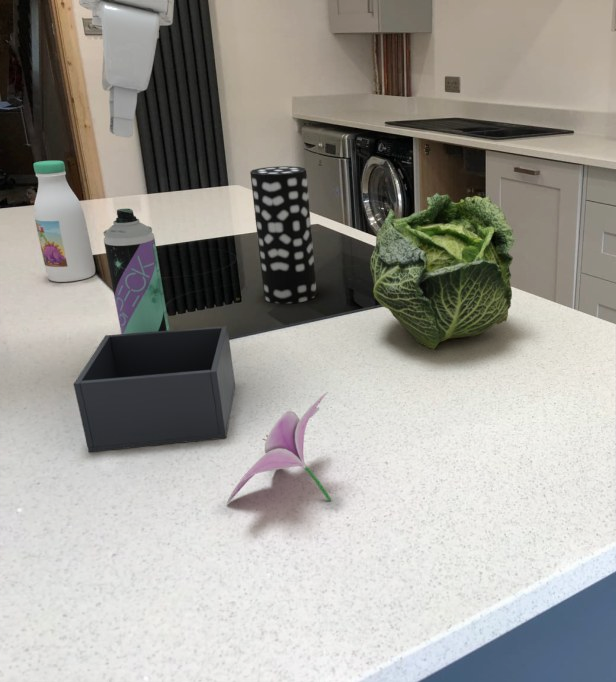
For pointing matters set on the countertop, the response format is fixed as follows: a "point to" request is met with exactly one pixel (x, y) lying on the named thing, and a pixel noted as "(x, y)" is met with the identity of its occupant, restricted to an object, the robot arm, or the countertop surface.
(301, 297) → the spotted tube
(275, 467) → the lily
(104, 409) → the bin
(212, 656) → the countertop surface
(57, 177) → the milk bottle
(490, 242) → the vegetable
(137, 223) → the spray can
